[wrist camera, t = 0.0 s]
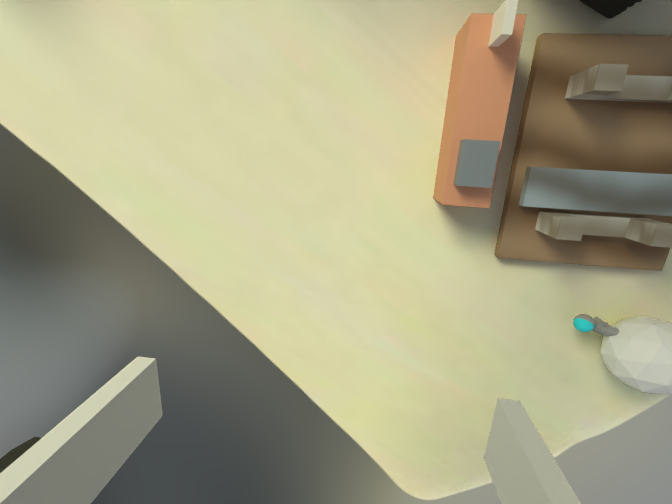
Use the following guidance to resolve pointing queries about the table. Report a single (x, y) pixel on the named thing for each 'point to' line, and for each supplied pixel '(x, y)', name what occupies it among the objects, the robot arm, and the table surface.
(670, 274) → the table surface
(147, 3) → the table surface
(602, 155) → the jig
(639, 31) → the table surface
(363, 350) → the table surface
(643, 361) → the perfume bottle
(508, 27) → the orange block with tabs
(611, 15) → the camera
